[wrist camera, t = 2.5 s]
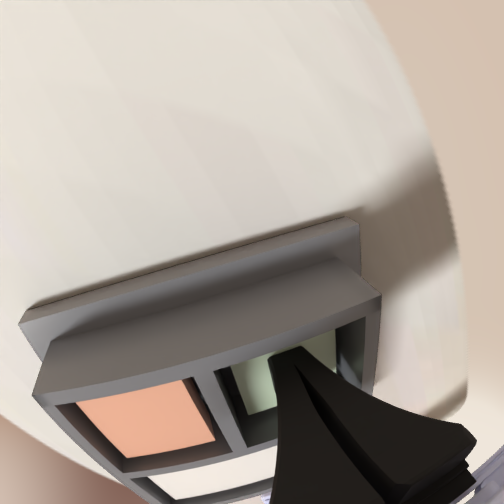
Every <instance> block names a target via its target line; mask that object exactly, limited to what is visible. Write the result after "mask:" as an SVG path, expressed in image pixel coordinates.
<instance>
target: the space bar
mask: <svg viewBox="0 0 504 504" xmlns="http://www.w3.org/2000/svg"><path fill="white" fill-rule="evenodd" d="M276 456H277V446H274V447H271V448H268V449H265V450H261V451H258V452H255V453H252V454H248V455H245V456H242V457H238V458H234V459H231V460H227V461H223V462H219V463H215V464H211V465H207V466H202V467H198V468H193V469H188V470H183V471H178V472H172V473H167V474H161V475H154V476H147V477H148V478H150V479H151V480H152V481H153V482H154V483H155V484H157V485H158V486H159V487H160V488H161V489H163V490H164V491H165V492H166V493H168V494H169V495H170V496H171V497H173V498H174V499H175V500H177V499H183V498H189V497H195V496H200V495H205V494H210V493H214V492H219V491H223V490H227V489H231V488H235V487H239V486H243V485H247V484H250V483H254V482H257V481H260V480H264V479H267V478H270V477H273V476H274V474H275V466H276Z"/></svg>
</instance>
